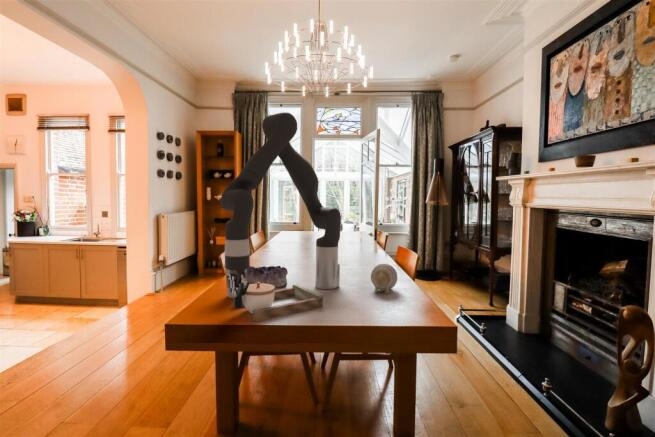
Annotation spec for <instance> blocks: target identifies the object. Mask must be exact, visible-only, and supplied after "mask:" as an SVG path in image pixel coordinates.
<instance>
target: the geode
mask: <svg viewBox="0 0 655 437" xmlns="http://www.w3.org/2000/svg"><path fill="white" fill-rule="evenodd" d="M288 274H289V273H288V269H287V268H286V267H284V266H282V267H281V265H276V266H274V265H270V266H265V265H264V266H258V267H255V266H251V265H250V267H249V268H248V269H247V280H246V282H249V284H256V283H257V282H260V283H265V284H271V285H273V286H275V288H281V287H286V286H288V279H287V275H288Z"/></svg>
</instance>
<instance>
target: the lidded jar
mask: <svg viewBox="0 0 655 437" xmlns="http://www.w3.org/2000/svg"><path fill="white" fill-rule="evenodd" d="M275 290H276V287H275V286H273V285H271V284H265V283H260V282H257V283H256V284H249V286H248V289H247V291H246V294H245V295H244V296H242V300H243V304H244V306H243V307H244V308H246V310H247V311H248V312H249V313H250V314H253V310H258V309H263V308H268V307H273V303H274V301H275V300H274V296H275Z"/></svg>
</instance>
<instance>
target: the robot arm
mask: <svg viewBox="0 0 655 437" xmlns="http://www.w3.org/2000/svg"><path fill="white" fill-rule="evenodd" d="M261 124H262V125H261V127H262V128H261V129H262V132H263V135H264V136H265V139H266V142H264V144H263V145H262V146H261V147H259V149H257V150H256V151H255V152H254V153H253V154H251V156H250V158H249V159H248V160H247V161H246V162H245V164H244V166H243V168H242V169H241V170H240V172H239V175H237V177H235V178H234V179H233V180H232V181H231V182H230V184H228V186H227V187H226V188H225V189H224V190H223V192H222V194H221V197H220V204H221V207H222V208H223V210H225V211H227V212H230V213H231V212H232V213H233V214H232V217H231V219H230V220H227V221H226V222H225V228H224V229H225V235H224V236H225V241H224V268H225V270H226V269H227V270H230V274H229V275H227V280H228V284H229V288H230V292H232V295H233V298H232V300H233V306H232V307H233V308H234V309H238V310H239V309H241V308H243V306H242V296H244V295H245V294H246V291H247V289H248V286H249V282H246V281H245V280H246V275H245V270H246V269H248V268H249V267H250V266H251V264H250V263H251V260H250V258H251V257H250V253H251V252H250V251H251V250H250V248H251V247H250V238H249V237H250V234H249V232H250V229H249V228H250V227H249V225H250V224H251V223H250V222H251V219H252V215H253V210H254V202H255V201H254V198H253V195H252V194H251V191H254V190H256V189H257V188H258V187H259V186H260V185H261V183H262V182H263V179H264V178H265V176H266V174H267V173H268V171H269V169H270V167H271V166H272V165H273V163H274V162H275V160H276V159H277V158H278V157H279V159H280V161H281V162H282V164H283V166H284V167H285V170H286V171H287V173H288V175H289V177H290V178H291V181H292V183H293V185H294V186H295V188H296V190H297V191H298V193H299V195H300V196H301V199H302V201H303V203H304V205H305V207H306V209H307V212H308V214H309V217H310V219H311V222H312V224H313V225H314V227H316V228H317V229H320V230H324V235H323V236H321V237H318V238H317V239H316V240H315V288H317V289H321V290H334V289H337V288H338V287H340V276H341V275H340V273H341V272H340V270H341V267H340V266H341V264H340V263H339V242H340V240H341V239H340V237H341V226H342V225H341V224H342V215H341V212H340V210H339V209H338V208H336V207H326V206H325V207H324V206H323V204H322V203H321V201H320V198H319V196H318V195H319V194H318V193H319V192H318V191H319V178H318V176H317V174H316V171H315V170H314V167H313V165H312V164H311V163H310V161H308V160H307V159H306V157H304V156H303V155H302V154H300V153H299V152H298V151H297V150H296V149H295V148H294V147H293V145H292V144H291V140H293V138H294V137H295V135H296V134H297V131H298V121H297V118H296V117H295V116H294V114H292V113H290V112H286V111H285V112H278V113H274V114H270V115H267V116H266V117H264V118H263V120H262V123H261Z"/></svg>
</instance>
